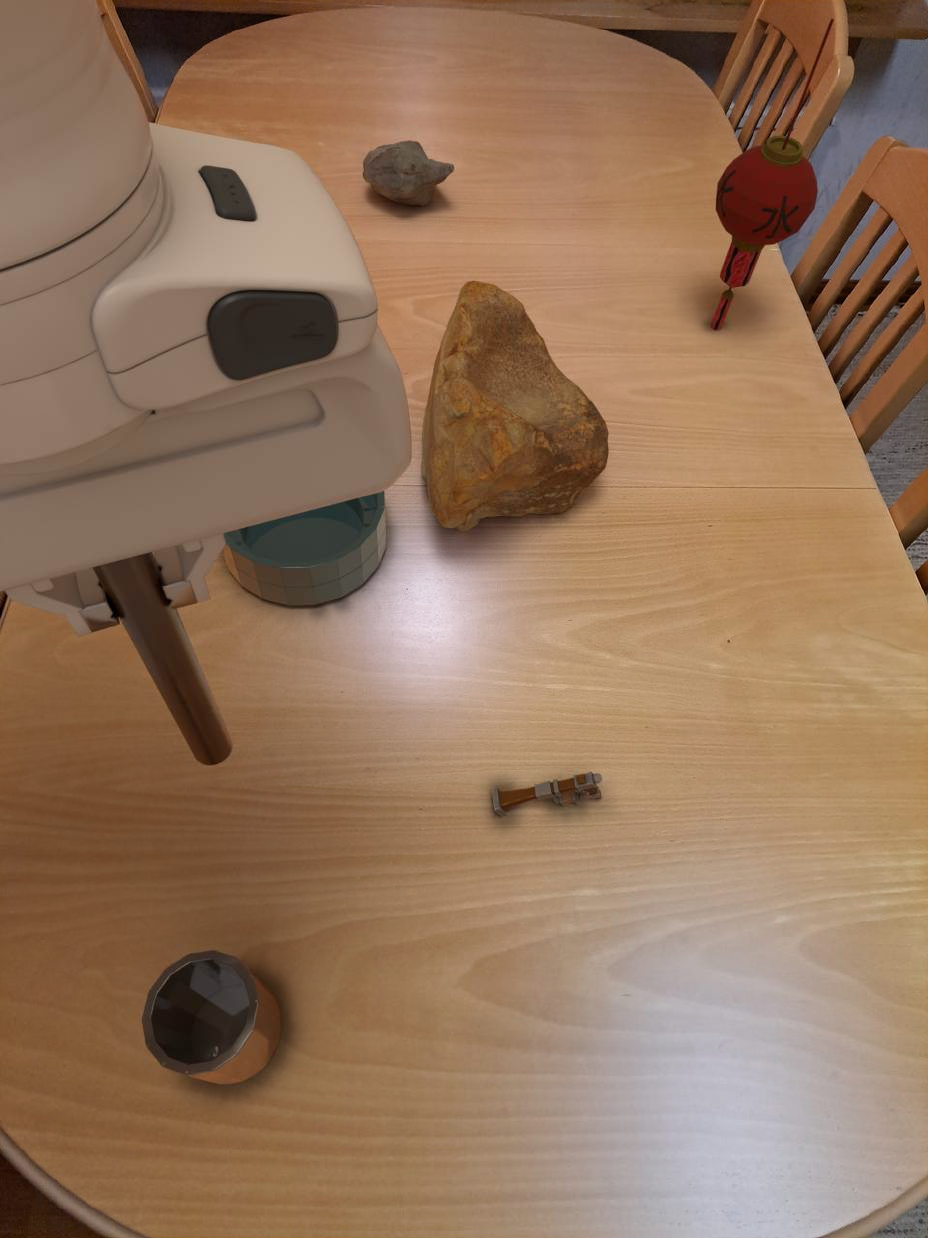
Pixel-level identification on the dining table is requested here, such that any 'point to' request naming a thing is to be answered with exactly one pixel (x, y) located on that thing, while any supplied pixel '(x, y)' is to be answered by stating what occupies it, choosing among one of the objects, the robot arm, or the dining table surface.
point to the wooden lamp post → (549, 792)
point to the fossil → (404, 172)
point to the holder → (211, 1019)
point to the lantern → (763, 202)
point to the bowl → (310, 552)
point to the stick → (166, 653)
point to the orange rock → (504, 418)
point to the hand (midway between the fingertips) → (144, 603)
